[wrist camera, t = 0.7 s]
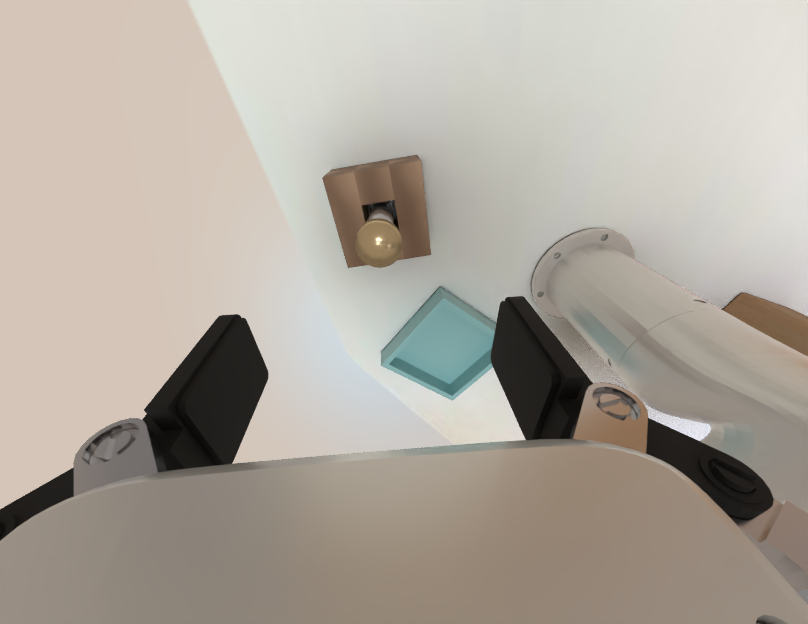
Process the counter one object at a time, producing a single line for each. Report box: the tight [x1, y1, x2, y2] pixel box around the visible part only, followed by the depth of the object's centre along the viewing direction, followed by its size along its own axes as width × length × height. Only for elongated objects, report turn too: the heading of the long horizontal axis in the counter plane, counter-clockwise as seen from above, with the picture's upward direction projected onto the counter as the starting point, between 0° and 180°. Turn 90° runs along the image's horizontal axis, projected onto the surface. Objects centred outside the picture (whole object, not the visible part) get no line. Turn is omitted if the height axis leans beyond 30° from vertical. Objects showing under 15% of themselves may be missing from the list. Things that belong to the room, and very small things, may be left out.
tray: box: [381, 286, 496, 400], centre depth 43 cm, size 14×14×3 cm
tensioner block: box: [323, 155, 431, 268], centre depth 30 cm, size 9×9×5 cm
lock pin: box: [355, 201, 402, 267], centre depth 27 cm, size 4×4×12 cm
